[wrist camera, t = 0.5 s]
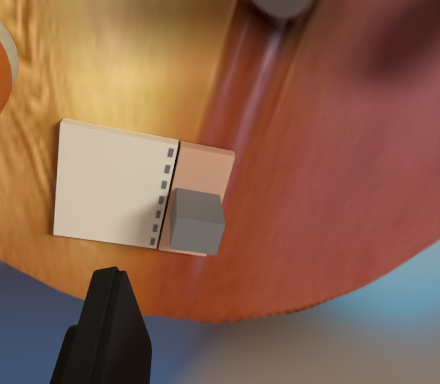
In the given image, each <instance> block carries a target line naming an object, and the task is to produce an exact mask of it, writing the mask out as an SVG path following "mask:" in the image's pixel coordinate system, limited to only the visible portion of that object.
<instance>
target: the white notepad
mask: <svg viewBox="0 0 440 384" xmlns="http://www.w3.org/2000/svg"><path fill="white" fill-rule="evenodd" d="M177 149H178V140H177V139H172V138H166V137H161V136H156V135H151V134H146V133H140V132H135V131H130V130H125V129H119V128H114V127H109V126H104V125H99V124H93V123H88V122H83V121H78V120H73V119H67V118H63V120H62V121H61V123H60V136H59V152H58V168H57V184H56V200H55V216H54V232H53V235H59V236H66V237H74V238H81V239H88V240H96V241H103V242H111V243H118V244H125V245H133V246H140V247H148V248H155V249H156V247H157V242H158V238H159V233H160V228H161V224H162V219H163V214H164V209H165V205H166V200H167V195H168V191H169V186H170V181H171V177H172V172H173V167H174V163H175V158H176V153H177Z"/></svg>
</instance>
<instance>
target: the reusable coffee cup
mask: <svg viewBox="0 0 440 384" xmlns="http://www.w3.org/2000/svg"><path fill="white" fill-rule="evenodd" d="M18 69H19V58H18V52H17V49H16V46H15V43H14V41H13V39H12V37H11V35H10V34H9V32H8V31H7V30H6V28H5V27H4V26H3V24H2V23H1V22H0V113H1V111H2V110H3V108H4V106H5V105H6V103H7V101H8V100H9V96H10V93H11V89H12V85H13V83H14V81H15V79H16V77H17V74H18Z"/></svg>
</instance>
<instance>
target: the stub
mask: <svg viewBox="0 0 440 384" xmlns="http://www.w3.org/2000/svg"><path fill="white" fill-rule="evenodd" d="M234 159H235V154H234V151H230V150H225V149H220V148H215V147H210V146H204V145H199V144H194V143H189V142H184V141H181V143H180V147H179V152H178V157H177V161H176V166H175V170H174V175H173V180H172V184H171V189H170V194H169V198H168V203H167V207H166V212H165V217H164V221H163V226H162V231H161V235H160V240H159V250H162V251H170V252H177V253H184V254H192V255H199V256H207V254H211V255H216V254H217V251H218V247H219V244H220V241H221V237H222V234H223V231H224V228H225V220H224V215H223V209H222V201H223V197H224V194H225V190H226V187H227V183H228V180H229V177H230V173H231V170H232V166H233V163H234Z"/></svg>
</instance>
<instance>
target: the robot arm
mask: <svg viewBox="0 0 440 384" xmlns="http://www.w3.org/2000/svg"><path fill="white" fill-rule="evenodd" d="M151 357H152V347H151V341H150V338H149V335H148V332H147V329H146V327H145V323H144V321H143V318H142V315H141V312H140V309H139V306H138V304H137V301H136V298H135V295H134V292H133V289H132V287H131V284H130V281H129V278H128V275H127V273H126V271H119V269H118V268H117V267H110V268H105V269H99V270H95V271H94V273H93V275H92V279H91V282H90V285H89V289H88V292H87V296H86V299H85V302H84V306H83V309H82V312H81V316H80V320H79V323H78V325H73V326H71V327H69V328H68V330H67V332H66V335H65V337H64V341H63V344H62V347H61V350H60V353H59V357H58V359H57V362H56V366H55V369H54V372H53V375H52V378H51V381H50V384H149V383H150V371H151V370H150V369H151Z"/></svg>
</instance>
